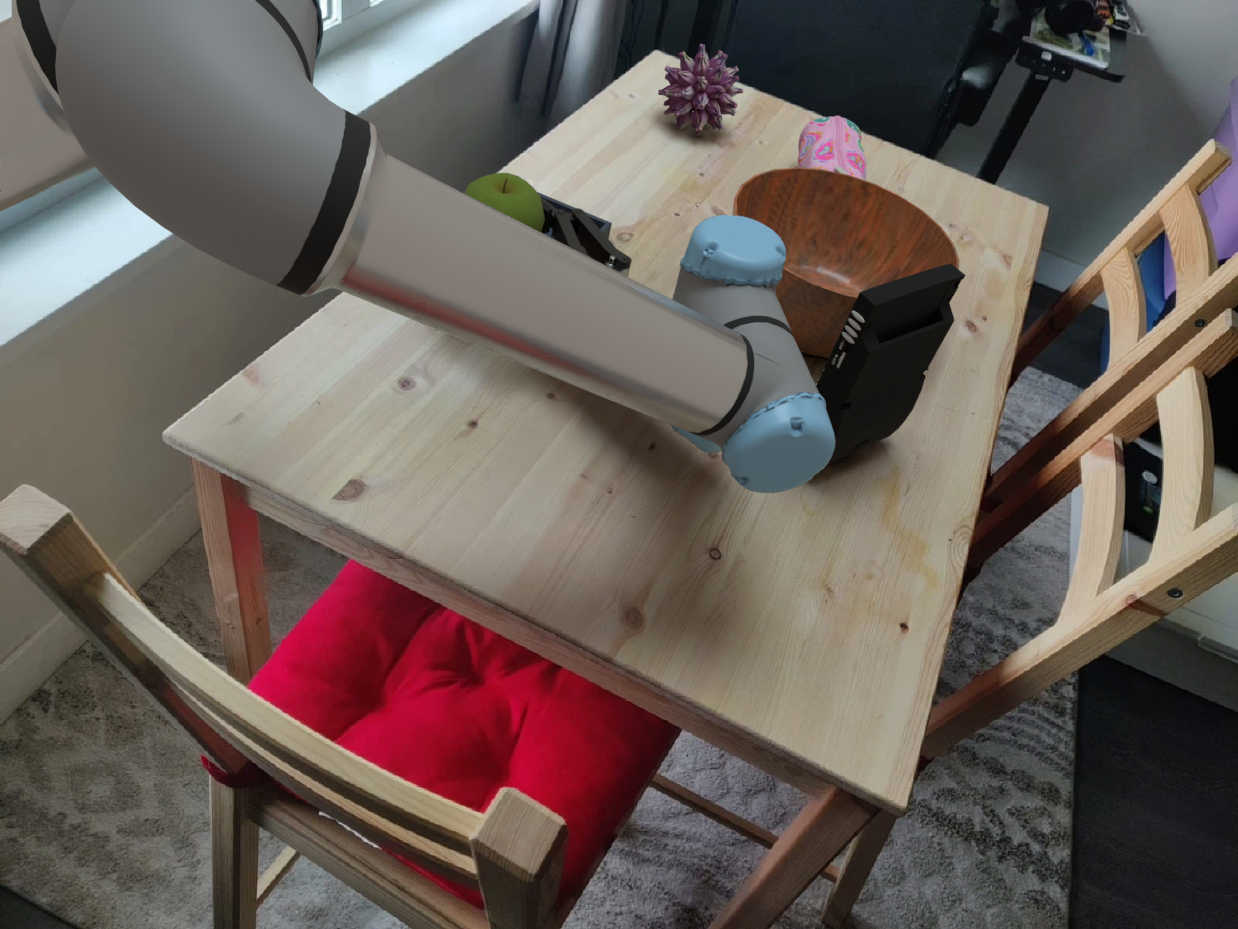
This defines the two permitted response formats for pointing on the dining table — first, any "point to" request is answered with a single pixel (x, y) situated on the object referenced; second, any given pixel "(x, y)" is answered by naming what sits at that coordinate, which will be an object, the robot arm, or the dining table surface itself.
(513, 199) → the apple
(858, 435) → the black electronic device
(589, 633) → the dining table surface
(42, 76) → the robot arm
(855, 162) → the pencil case
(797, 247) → the bowl
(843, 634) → the dining table surface
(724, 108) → the flower
